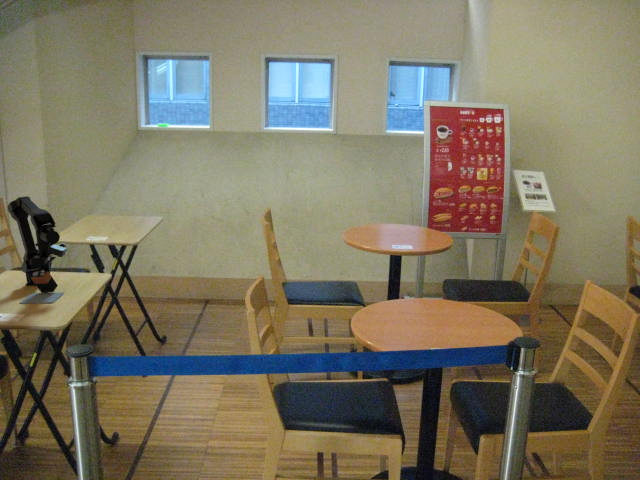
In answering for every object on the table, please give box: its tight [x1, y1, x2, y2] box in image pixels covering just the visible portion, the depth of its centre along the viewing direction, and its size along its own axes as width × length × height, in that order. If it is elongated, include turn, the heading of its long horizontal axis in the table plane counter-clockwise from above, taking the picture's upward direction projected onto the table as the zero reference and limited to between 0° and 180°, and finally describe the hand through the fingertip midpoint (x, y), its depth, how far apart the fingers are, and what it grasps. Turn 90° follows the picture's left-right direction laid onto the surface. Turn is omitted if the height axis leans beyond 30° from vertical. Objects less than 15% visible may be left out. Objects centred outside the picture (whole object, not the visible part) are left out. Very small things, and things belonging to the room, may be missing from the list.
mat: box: [19, 292, 65, 305], centre depth 250 cm, size 14×12×1 cm
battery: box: [31, 270, 59, 293], centre depth 255 cm, size 4×7×10 cm, turn 77°
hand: (48, 274), depth 257 cm, fingers closed
